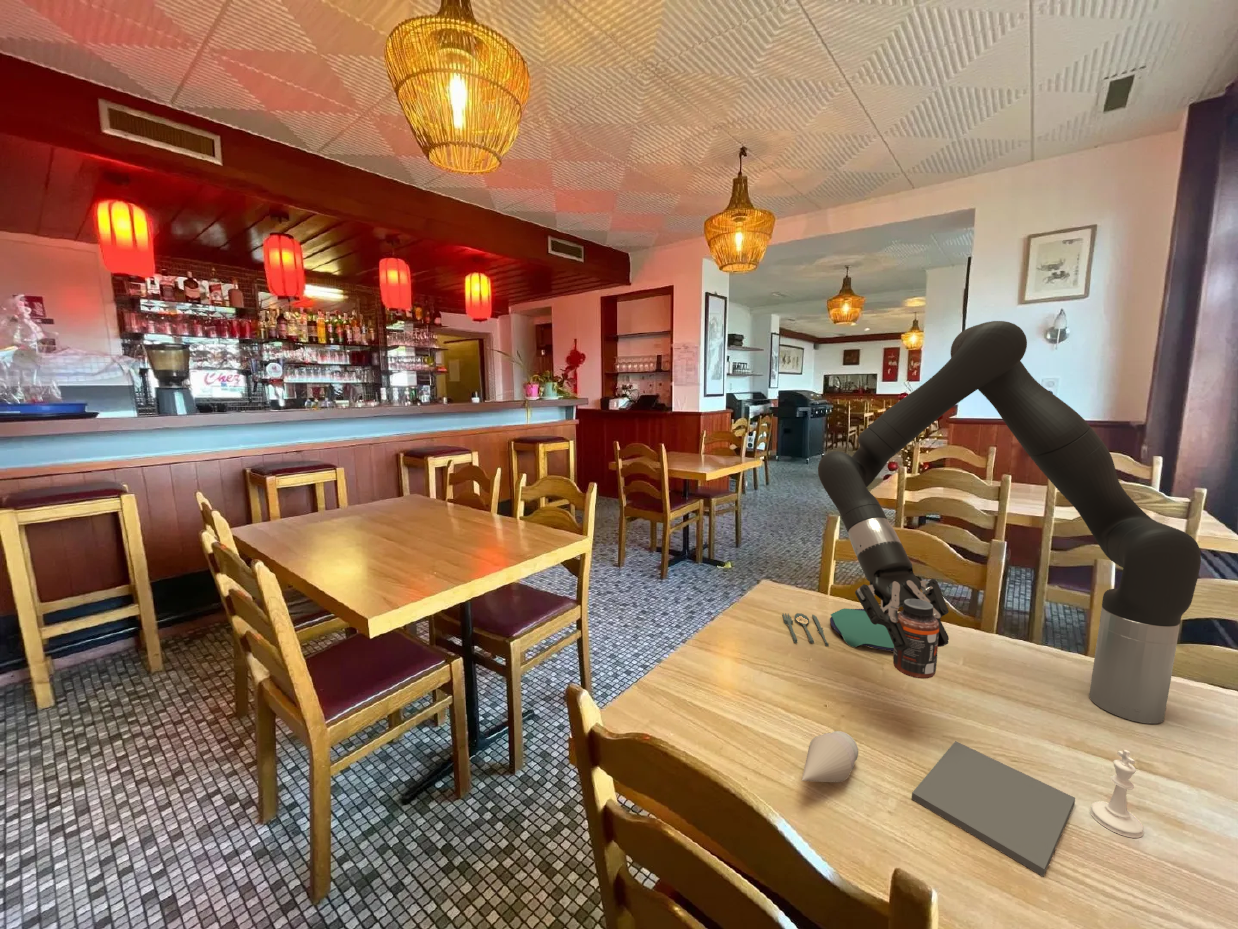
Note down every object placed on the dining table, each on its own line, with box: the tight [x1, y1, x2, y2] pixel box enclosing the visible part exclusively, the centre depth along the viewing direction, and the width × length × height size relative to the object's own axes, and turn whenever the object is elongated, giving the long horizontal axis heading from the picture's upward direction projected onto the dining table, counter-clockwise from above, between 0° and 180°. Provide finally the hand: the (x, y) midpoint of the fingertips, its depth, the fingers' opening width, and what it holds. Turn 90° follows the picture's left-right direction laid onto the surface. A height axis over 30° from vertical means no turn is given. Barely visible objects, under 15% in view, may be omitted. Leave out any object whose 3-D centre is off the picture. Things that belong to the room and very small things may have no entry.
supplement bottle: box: [892, 599, 939, 680], centre depth 78 cm, size 6×6×11 cm
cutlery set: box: [782, 607, 894, 652], centre depth 114 cm, size 20×30×2 cm, turn 80°
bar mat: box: [911, 740, 1076, 877], centre depth 67 cm, size 16×14×1 cm
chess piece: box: [1089, 749, 1145, 839], centre depth 63 cm, size 5×5×10 cm
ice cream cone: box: [801, 730, 859, 783], centre depth 70 cm, size 6×6×15 cm
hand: (924, 646), depth 77 cm, fingers closed on supplement bottle, 6 cm apart
